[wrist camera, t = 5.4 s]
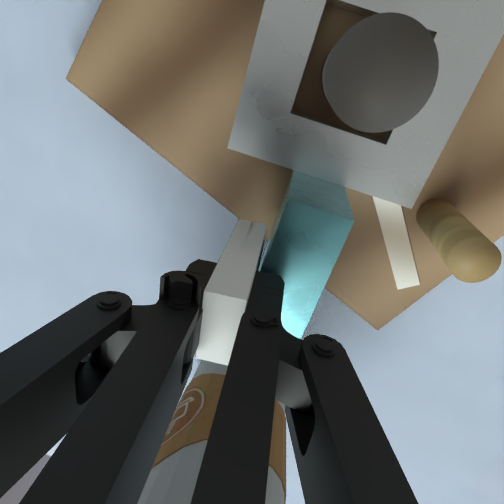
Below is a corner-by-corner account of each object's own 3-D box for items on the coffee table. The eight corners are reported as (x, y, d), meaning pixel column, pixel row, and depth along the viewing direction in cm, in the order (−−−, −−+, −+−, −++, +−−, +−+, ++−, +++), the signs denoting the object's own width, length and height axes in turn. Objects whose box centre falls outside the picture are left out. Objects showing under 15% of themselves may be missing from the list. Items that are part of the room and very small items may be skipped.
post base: (79, 78, 20) (-67, 81, 12) (308, -392, 12) (300, -1154, 5) (374, 318, 23) (403, 435, 16) (693, 70, 16) (1039, 68, 8)
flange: (203, 259, 22) (166, 320, 16) (292, -84, 14) (279, -175, 9) (349, 308, 22) (360, 385, 16) (511, -12, 14) (628, -62, 9)
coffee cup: (232, 307, 25) (137, 581, 11) (323, 377, 26) (334, 695, 13) (166, 371, 28) (33, 640, 15) (249, 431, 30) (197, 724, 16)
